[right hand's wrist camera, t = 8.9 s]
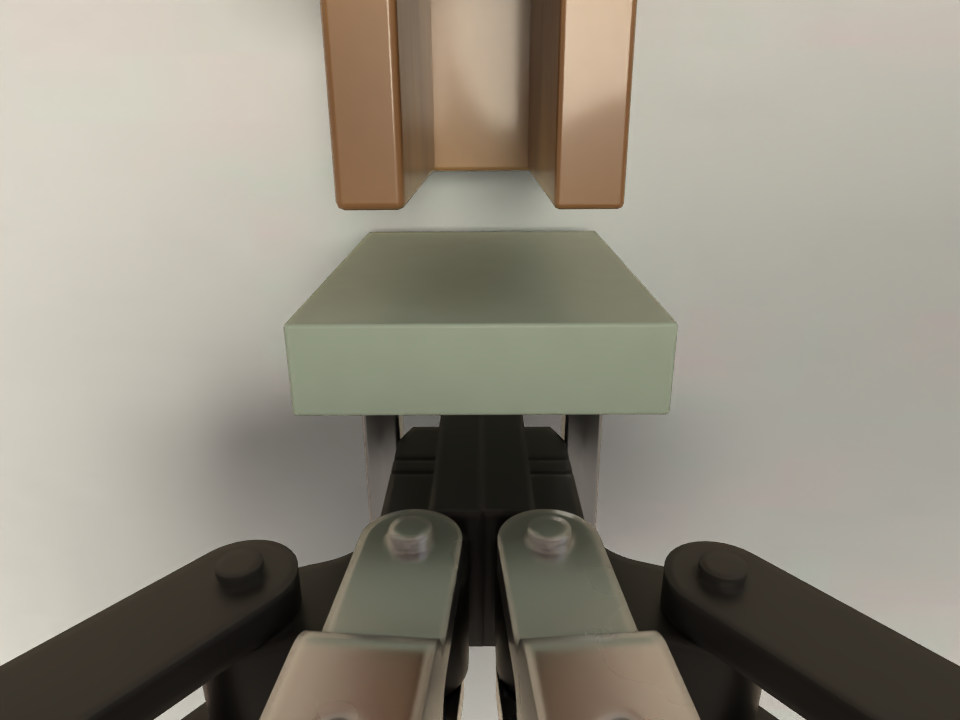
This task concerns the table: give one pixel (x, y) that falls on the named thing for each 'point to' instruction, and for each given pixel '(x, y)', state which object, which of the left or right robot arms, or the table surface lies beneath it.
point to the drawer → (480, 255)
